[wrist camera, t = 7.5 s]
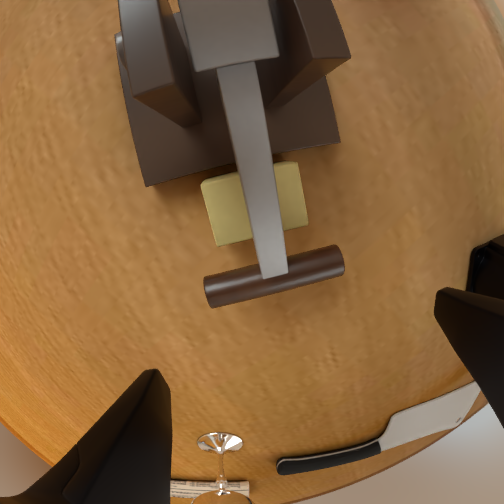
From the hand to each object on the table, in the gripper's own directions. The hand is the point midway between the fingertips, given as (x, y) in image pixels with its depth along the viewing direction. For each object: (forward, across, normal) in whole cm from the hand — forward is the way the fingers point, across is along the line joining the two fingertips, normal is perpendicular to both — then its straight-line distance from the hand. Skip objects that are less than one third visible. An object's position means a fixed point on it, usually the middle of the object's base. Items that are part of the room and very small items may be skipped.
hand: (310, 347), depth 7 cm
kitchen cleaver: (+9, -12, +28) cm, 31 cm away
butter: (+9, 0, -3) cm, 9 cm away
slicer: (+9, 0, -10) cm, 13 cm away
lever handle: (+4, 0, -5) cm, 7 cm away
